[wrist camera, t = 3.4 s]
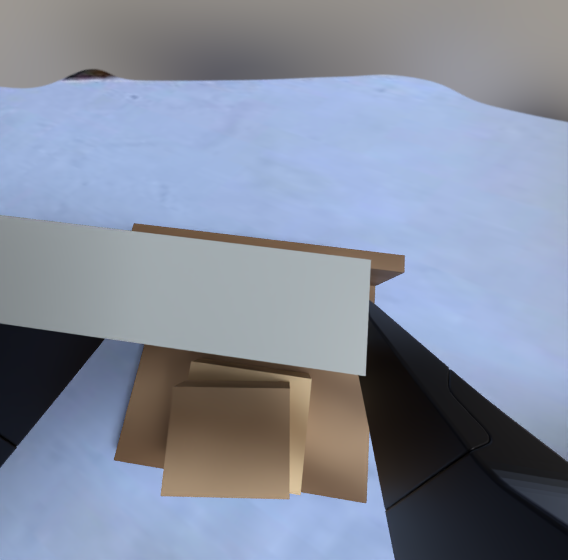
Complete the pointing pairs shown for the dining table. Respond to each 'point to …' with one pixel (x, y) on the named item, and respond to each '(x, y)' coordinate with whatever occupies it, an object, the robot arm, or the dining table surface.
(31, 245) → the gray rectangular block
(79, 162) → the dining table surface
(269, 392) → the offcut stack
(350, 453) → the walnut rack
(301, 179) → the dining table surface
